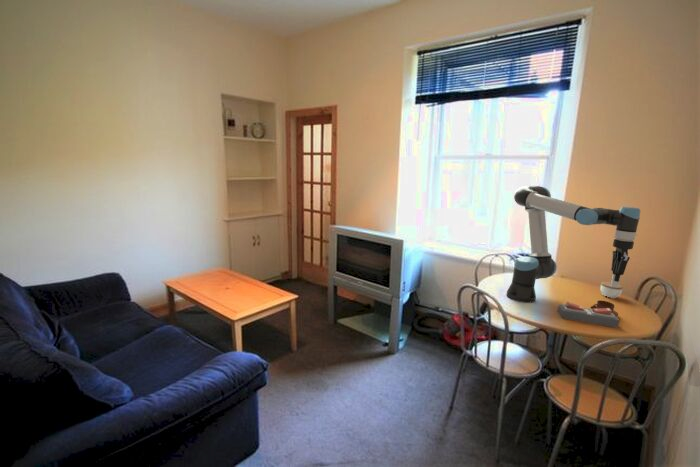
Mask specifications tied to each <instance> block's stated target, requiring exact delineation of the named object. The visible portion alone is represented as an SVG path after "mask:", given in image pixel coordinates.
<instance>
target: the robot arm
mask: <svg viewBox="0 0 700 467" xmlns="http://www.w3.org/2000/svg"><path fill="white" fill-rule="evenodd" d="M513 198H514V201H515V203H516V204H517V205H519V206H521V207H524V210H525V211H526V213H527V214H528V224H529V225H528V226H529V228H528V229H529V239H530V240H529V241H530V251H531V253H530V254H529V255H528V256H525V255H524V256H519V257H517V258H516V259H515V263H514V267H513V274H512V279H511V283H510V285H509V286H508V288H507V290H506V296H507V298H510V299H511V300H514V301H518V302H521V303H534V302H536V299H537V295H536V288H535V284H536V280H539V279H541V280H542V279H548V278H550V277H552V276H553V275H554V274H556V271H557V268H558V267H557V263H556V261H555V260H554V259H553V258H552V254H551V253H550V252H549V247H548V235H547V233H548V232H547V223H546V222H547V221H546V212H547V213H549V214H554V215H557V216H560V217H562V218H563V217H564V218H566V219H570V220H573V221H576V222H577V223H578V224H580V225H584V226H592V225H608V226H609V225H610V226H616V228H615V231H614V236H613V238H614V239H613V242H612V246H613V247H614V248H615V250H612V258H611V259H612V260H611V272H612V275H611V276H612V277H611V281H610V282H611V284H610V286H611V287H615V288H618V285H620V280H621V276H623V275H624V274H625V271H626V268H627V265H628V263H629V260H630V259H631V258H630V256H628V255H629V250H633V248H634V243H635V242H634V241H635V239H636V236H638V235H637V230H638V225H639V221H640V218H641V217H640V216H641V209H640V208H639V207H632V206H621V207H620V209H611V208H603V207H593V208H590V207H586V206H582V205H580V204H575V203H572V202H568V201H565V200H561V199H558V198H553V197H552V195H551V192H550V190H549V189H547V187H545V186H540V185H532V186H531V185H523V186H520V187H519V188H517V189H516V190H515V192H514V197H513Z"/></svg>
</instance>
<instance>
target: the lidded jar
mask: <svg viewBox="0 0 700 467" xmlns="http://www.w3.org/2000/svg"><path fill="white" fill-rule="evenodd" d="M610 284H611V281H601V283H600V293H601V294H602V296H603V295H604V296H603V297H605V296H607V297H606V298H608V297H611V298H610V299H616V298H618V297H619V296H620V295H622V292H623V289H624V285H621V284H619V285H618V288H615V287H611V286H610Z"/></svg>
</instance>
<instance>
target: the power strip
mask: <svg viewBox="0 0 700 467" xmlns="http://www.w3.org/2000/svg"><path fill="white" fill-rule="evenodd" d="M581 307H582V308H583V309H584V310H583V311H581V310H577V309H575V308H572V307H569V306H568V305H567V304H566V303H562V304H561V303H560V304H559V303H558V306H557V313H558V315H559V316H560V318H561V319H564V320H565V319H566V320H570V321H571V320H572V321H576V322H582V323H587V324H588V323H589V324H594V325H600V326H604V327H605V326H606V327H612V328H615V329H616V328H619V325H620V318H618V316H615V315H614V314H613V313H601V314H599V313H595V312H594V311H593V309H591V307H590V308H586V307H583V306H581Z"/></svg>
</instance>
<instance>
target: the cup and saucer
mask: <svg viewBox="0 0 700 467" xmlns="http://www.w3.org/2000/svg"><path fill="white" fill-rule="evenodd" d="M594 308H610V309H611V310H612V313H613V314H614V315H615V316H616V317H618V316H619V313H618V312H617V311H616V310H614V308H615V304H614V303H612V302H610V301H607V300H606V301H605V300H597V302H596V303H594V304H593V305H592V306H590V309H594Z"/></svg>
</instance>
